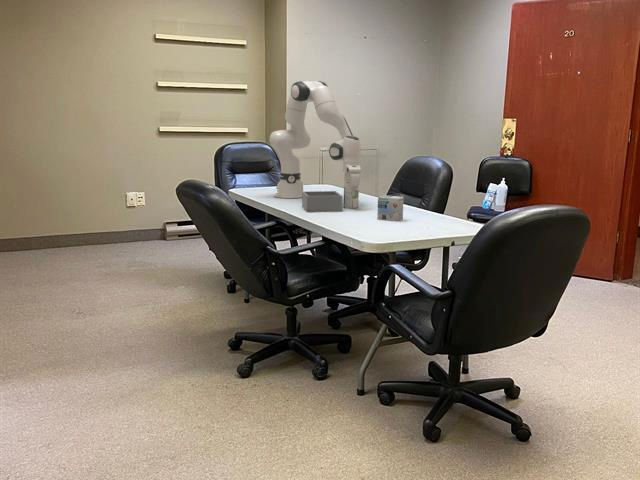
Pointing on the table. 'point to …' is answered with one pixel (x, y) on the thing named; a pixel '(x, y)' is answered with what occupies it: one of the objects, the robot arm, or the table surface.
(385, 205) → the light bulb box
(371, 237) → the table surface
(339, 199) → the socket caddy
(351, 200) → the syrup box
